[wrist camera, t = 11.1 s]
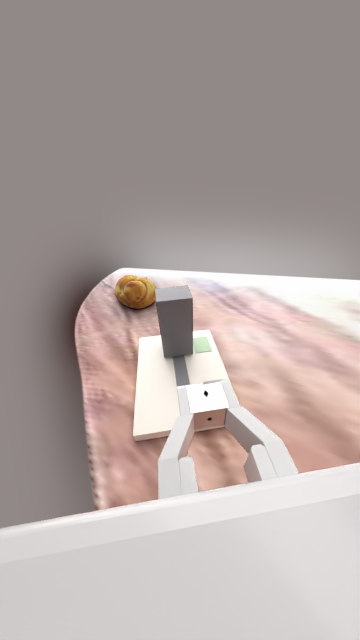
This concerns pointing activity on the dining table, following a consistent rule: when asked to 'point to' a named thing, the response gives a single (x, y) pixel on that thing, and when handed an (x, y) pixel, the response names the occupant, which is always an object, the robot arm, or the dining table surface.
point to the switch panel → (170, 382)
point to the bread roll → (135, 291)
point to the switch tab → (175, 320)
